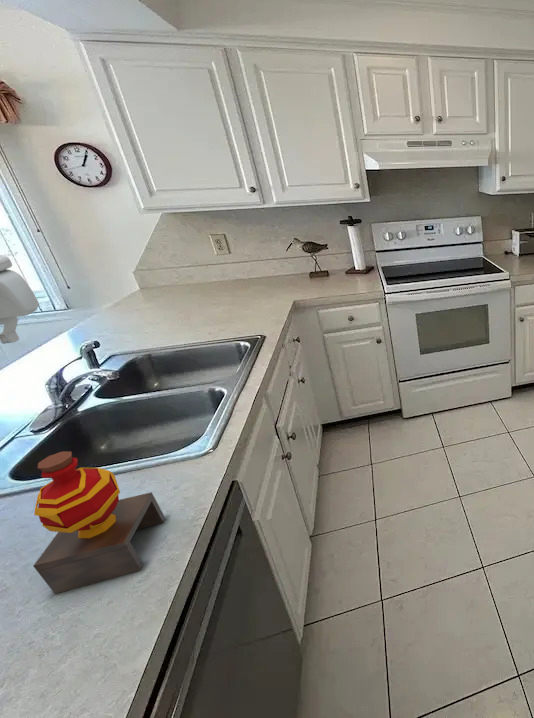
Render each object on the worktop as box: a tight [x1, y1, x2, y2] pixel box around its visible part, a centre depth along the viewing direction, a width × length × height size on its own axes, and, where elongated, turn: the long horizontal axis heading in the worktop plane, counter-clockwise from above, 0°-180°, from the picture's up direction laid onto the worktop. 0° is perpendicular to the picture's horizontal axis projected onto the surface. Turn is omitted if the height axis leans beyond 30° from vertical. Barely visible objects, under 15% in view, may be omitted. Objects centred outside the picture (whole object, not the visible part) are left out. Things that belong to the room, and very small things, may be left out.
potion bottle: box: [33, 450, 121, 538], centre depth 69 cm, size 10×10×15 cm
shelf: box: [33, 492, 166, 595], centre depth 74 cm, size 12×12×7 cm
